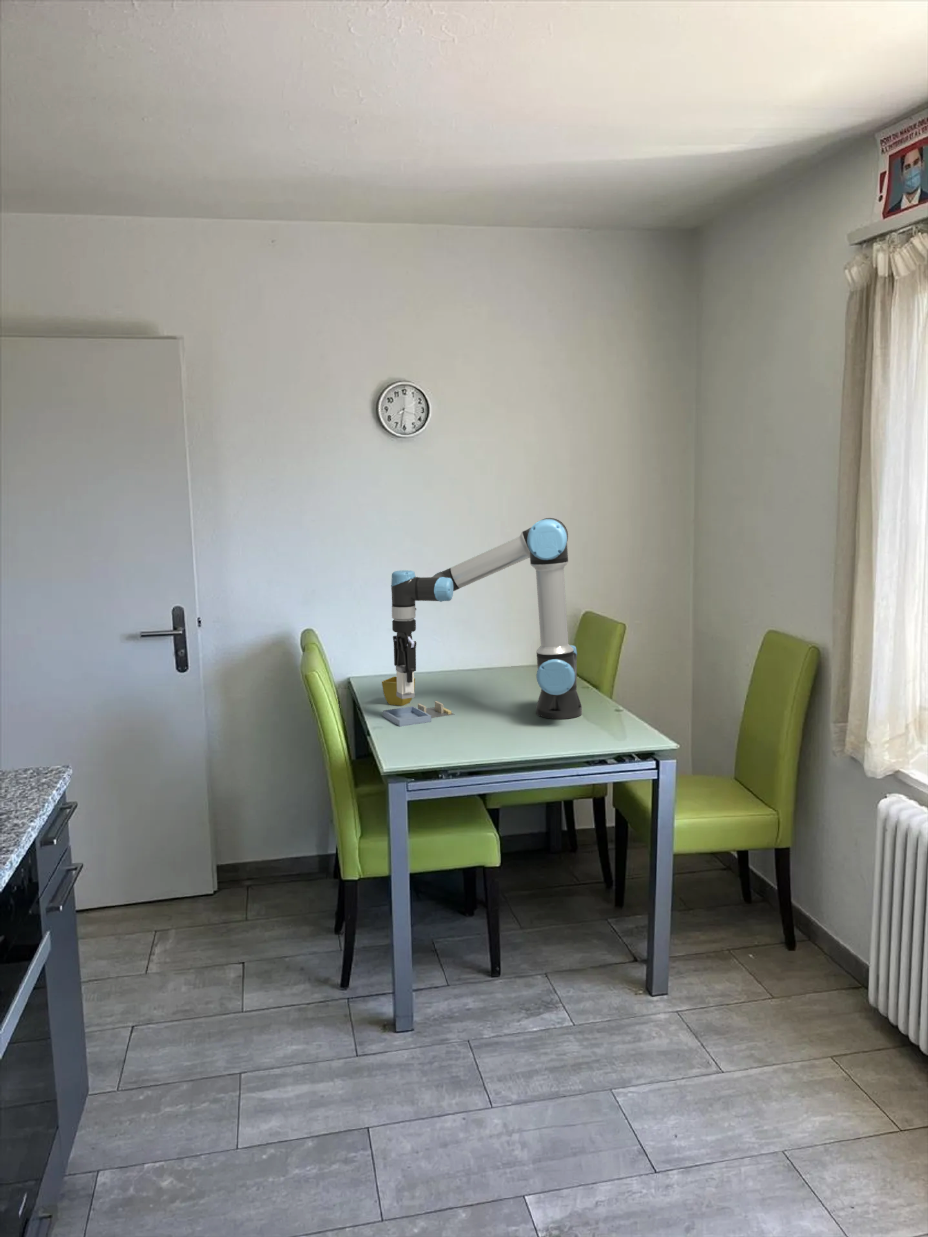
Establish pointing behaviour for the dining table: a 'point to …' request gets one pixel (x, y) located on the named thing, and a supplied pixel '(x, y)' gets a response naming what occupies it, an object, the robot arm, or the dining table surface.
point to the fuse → (400, 684)
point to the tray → (406, 716)
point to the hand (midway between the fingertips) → (405, 690)
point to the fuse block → (435, 710)
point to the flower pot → (393, 692)
